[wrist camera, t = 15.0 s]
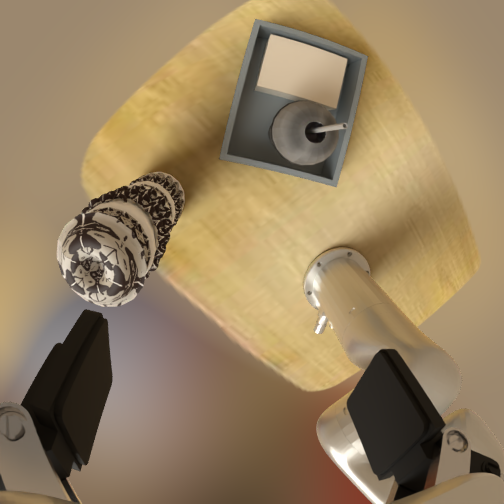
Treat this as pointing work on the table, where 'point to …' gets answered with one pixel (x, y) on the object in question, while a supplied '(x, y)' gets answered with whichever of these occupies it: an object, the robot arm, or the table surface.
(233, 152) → the tray
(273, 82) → the beige rectangular block
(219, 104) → the table surface
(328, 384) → the table surface
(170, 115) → the table surface
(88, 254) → the decorative candle
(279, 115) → the beverage cup
